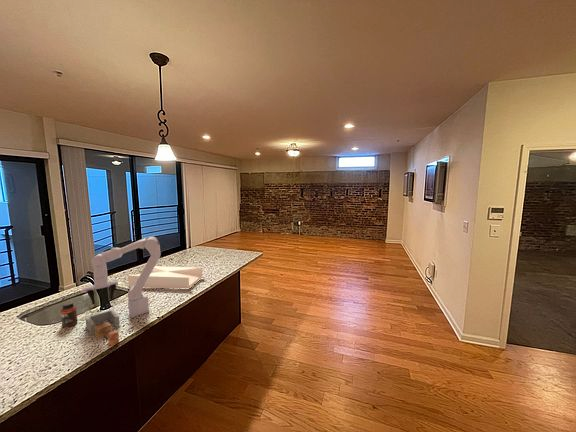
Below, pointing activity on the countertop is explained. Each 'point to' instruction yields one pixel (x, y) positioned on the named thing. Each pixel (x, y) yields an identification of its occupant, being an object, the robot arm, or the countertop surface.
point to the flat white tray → (170, 277)
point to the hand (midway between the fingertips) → (102, 301)
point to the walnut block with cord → (107, 333)
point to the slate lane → (101, 319)
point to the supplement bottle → (68, 314)
